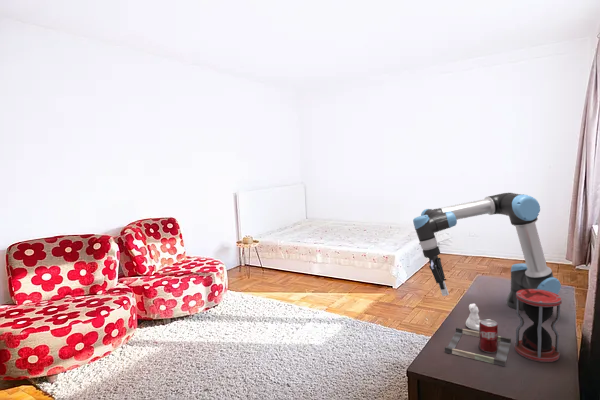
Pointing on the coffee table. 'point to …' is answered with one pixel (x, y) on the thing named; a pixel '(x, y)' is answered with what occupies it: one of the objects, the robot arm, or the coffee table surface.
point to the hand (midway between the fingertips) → (445, 295)
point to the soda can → (488, 336)
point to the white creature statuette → (473, 318)
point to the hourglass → (537, 325)
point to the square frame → (499, 359)
